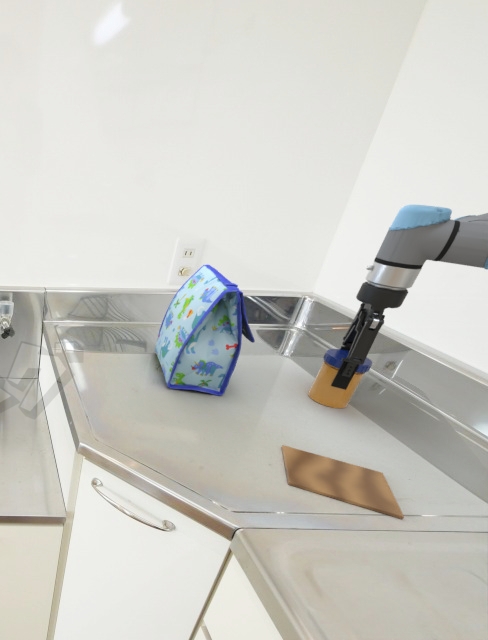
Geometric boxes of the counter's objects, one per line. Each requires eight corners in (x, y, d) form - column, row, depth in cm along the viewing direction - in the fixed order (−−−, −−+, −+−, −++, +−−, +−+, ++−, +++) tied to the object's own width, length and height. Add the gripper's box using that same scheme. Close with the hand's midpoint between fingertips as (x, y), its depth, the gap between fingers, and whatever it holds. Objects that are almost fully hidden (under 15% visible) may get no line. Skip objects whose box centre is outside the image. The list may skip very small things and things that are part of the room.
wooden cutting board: (381, 475, 78) (382, 472, 77) (402, 519, 68) (404, 516, 68) (281, 447, 84) (282, 444, 83) (288, 484, 74) (289, 482, 74)
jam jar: (343, 396, 103) (363, 357, 98) (350, 411, 97) (373, 371, 92) (305, 387, 106) (324, 349, 101) (310, 402, 100) (330, 362, 95)
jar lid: (375, 375, 92) (380, 368, 91) (331, 368, 94) (334, 361, 93) (359, 359, 99) (362, 352, 98) (317, 353, 101) (321, 346, 100)
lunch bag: (236, 399, 99) (279, 292, 87) (163, 390, 101) (195, 284, 89) (208, 358, 119) (240, 265, 106) (148, 351, 120) (171, 259, 108)
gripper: (359, 271, 97) (317, 359, 108) (369, 293, 82) (319, 392, 93) (401, 278, 94) (353, 367, 105) (420, 301, 78) (361, 404, 89)
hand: (337, 379), depth 99 cm, fingers closed on jar lid, 8 cm apart
